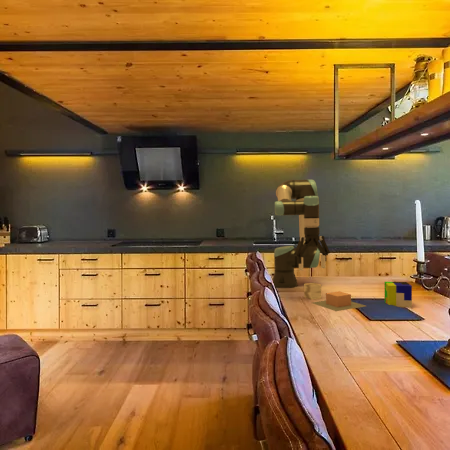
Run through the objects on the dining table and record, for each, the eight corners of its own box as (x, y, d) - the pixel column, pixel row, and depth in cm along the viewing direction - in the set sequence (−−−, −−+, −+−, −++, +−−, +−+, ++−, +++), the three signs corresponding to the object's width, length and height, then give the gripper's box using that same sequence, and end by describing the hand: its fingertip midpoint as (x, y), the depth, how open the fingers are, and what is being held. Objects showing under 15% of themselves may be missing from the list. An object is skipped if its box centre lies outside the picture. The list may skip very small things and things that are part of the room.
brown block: (304, 299, 207) (304, 283, 207) (313, 298, 210) (313, 282, 209) (311, 301, 202) (311, 285, 201) (321, 300, 204) (321, 284, 204)
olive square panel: (311, 304, 195) (311, 302, 195) (340, 300, 203) (340, 298, 203) (336, 313, 179) (336, 311, 179) (367, 308, 187) (367, 306, 187)
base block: (326, 303, 193) (325, 293, 193) (339, 301, 196) (339, 291, 196) (337, 307, 186) (337, 296, 185) (351, 305, 189) (350, 294, 189)
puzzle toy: (411, 307, 186) (411, 286, 186) (388, 307, 188) (388, 285, 188) (406, 302, 196) (406, 281, 195) (384, 302, 198) (384, 281, 197)
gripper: (295, 228, 195) (295, 272, 196) (336, 226, 206) (337, 268, 206) (286, 227, 202) (287, 270, 203) (326, 225, 212) (327, 266, 213)
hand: (312, 269), depth 205 cm, fingers open, 13 cm apart
